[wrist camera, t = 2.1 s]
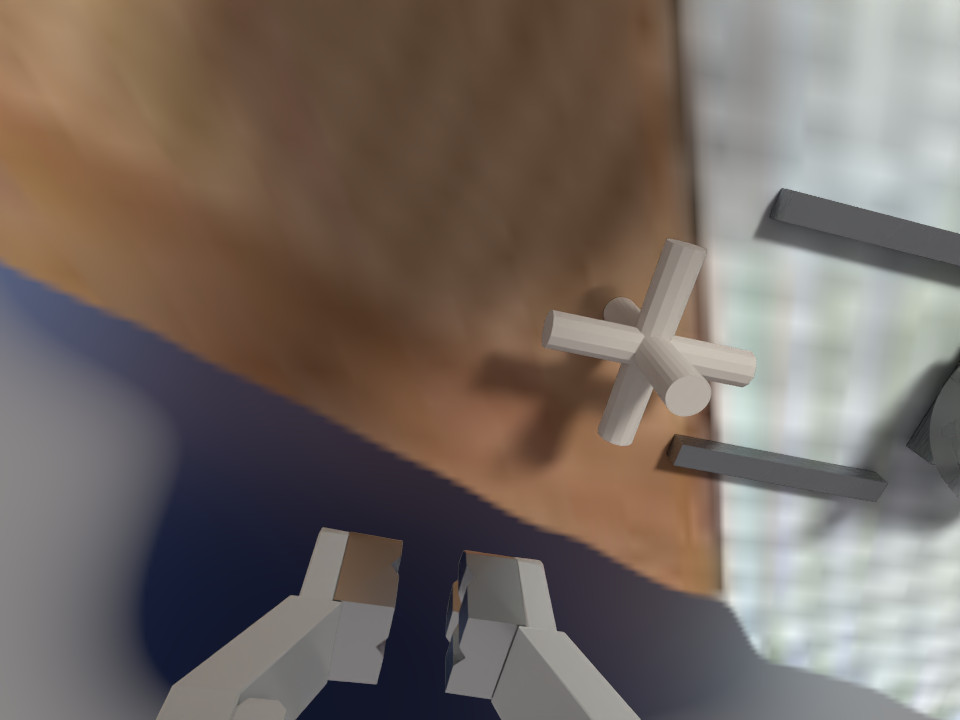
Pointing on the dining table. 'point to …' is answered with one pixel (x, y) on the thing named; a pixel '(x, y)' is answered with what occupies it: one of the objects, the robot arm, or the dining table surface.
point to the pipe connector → (651, 347)
